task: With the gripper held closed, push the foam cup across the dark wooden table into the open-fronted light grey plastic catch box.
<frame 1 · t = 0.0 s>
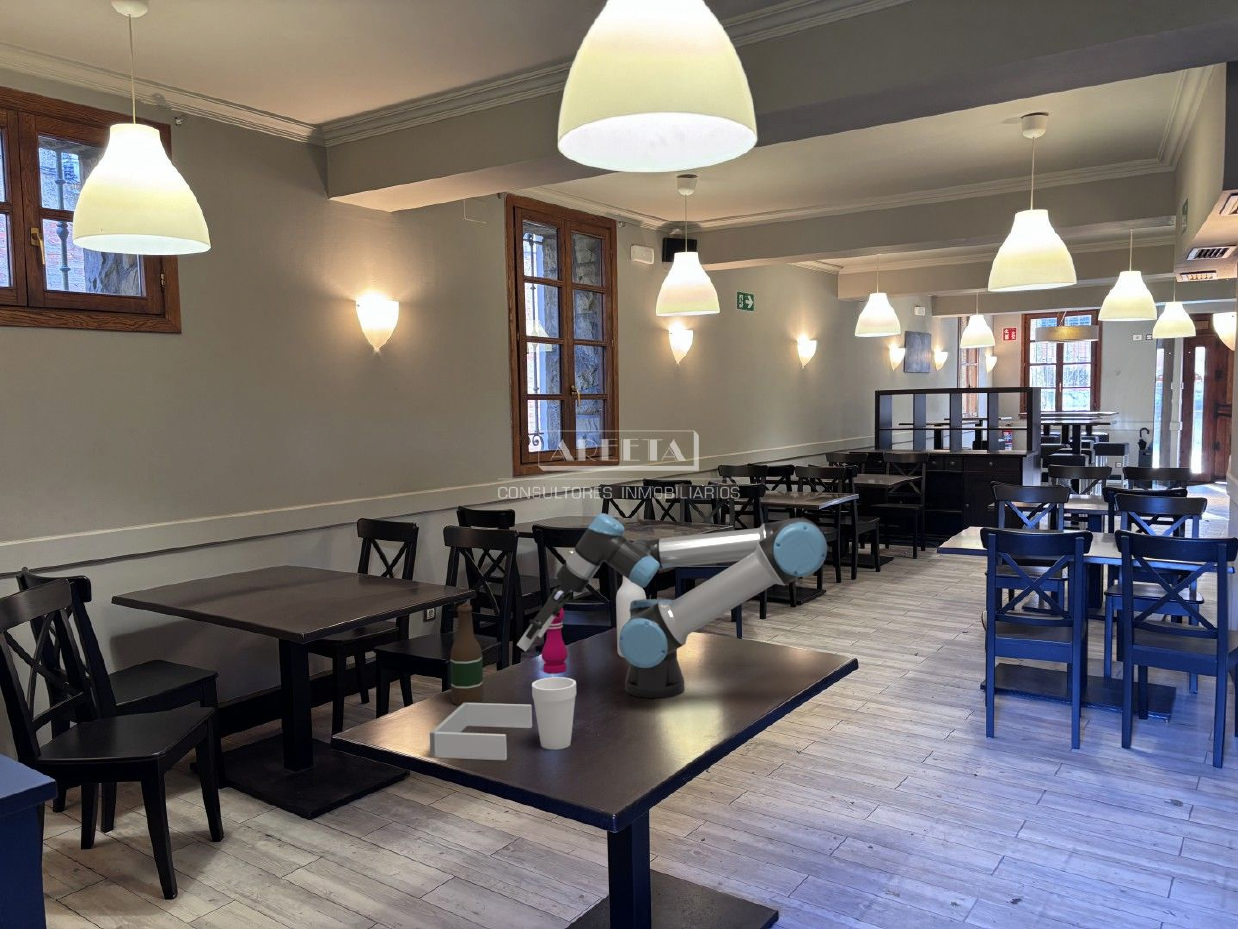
hand: (529, 641, 210), 15 cm above the table, tool tilted 35°, fingers open, 13 cm apart
catch box: (483, 741, 185), on the table
foam cup: (555, 745, 182), on the table
pepper mill: (555, 671, 238), on the table
alcohol: (632, 655, 253), on the table
beer bottle: (467, 702, 212), on the table
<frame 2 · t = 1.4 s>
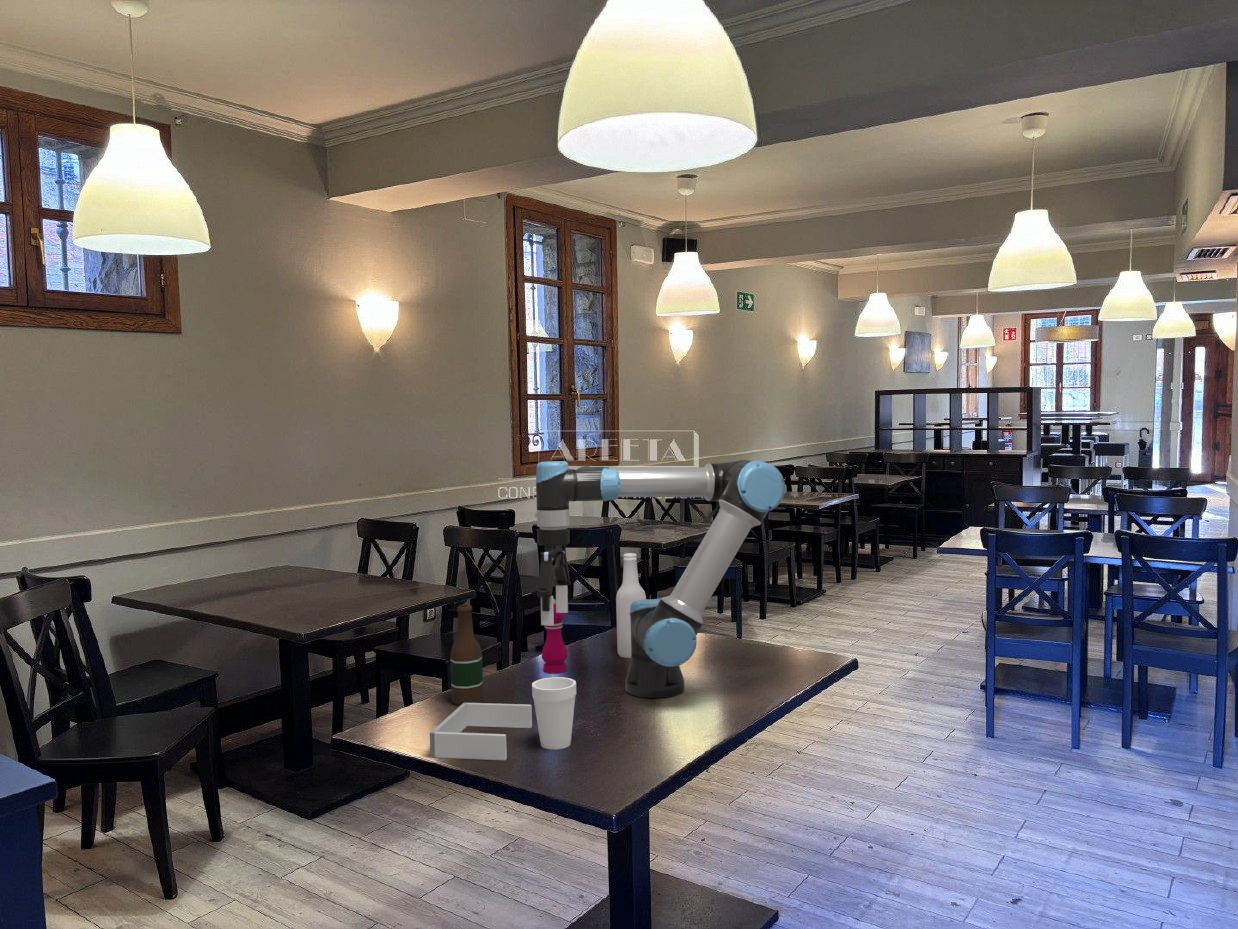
hand: (555, 618, 200), 23 cm above the table, tool pointing down, fingers open, 13 cm apart
nothing on the table moved.
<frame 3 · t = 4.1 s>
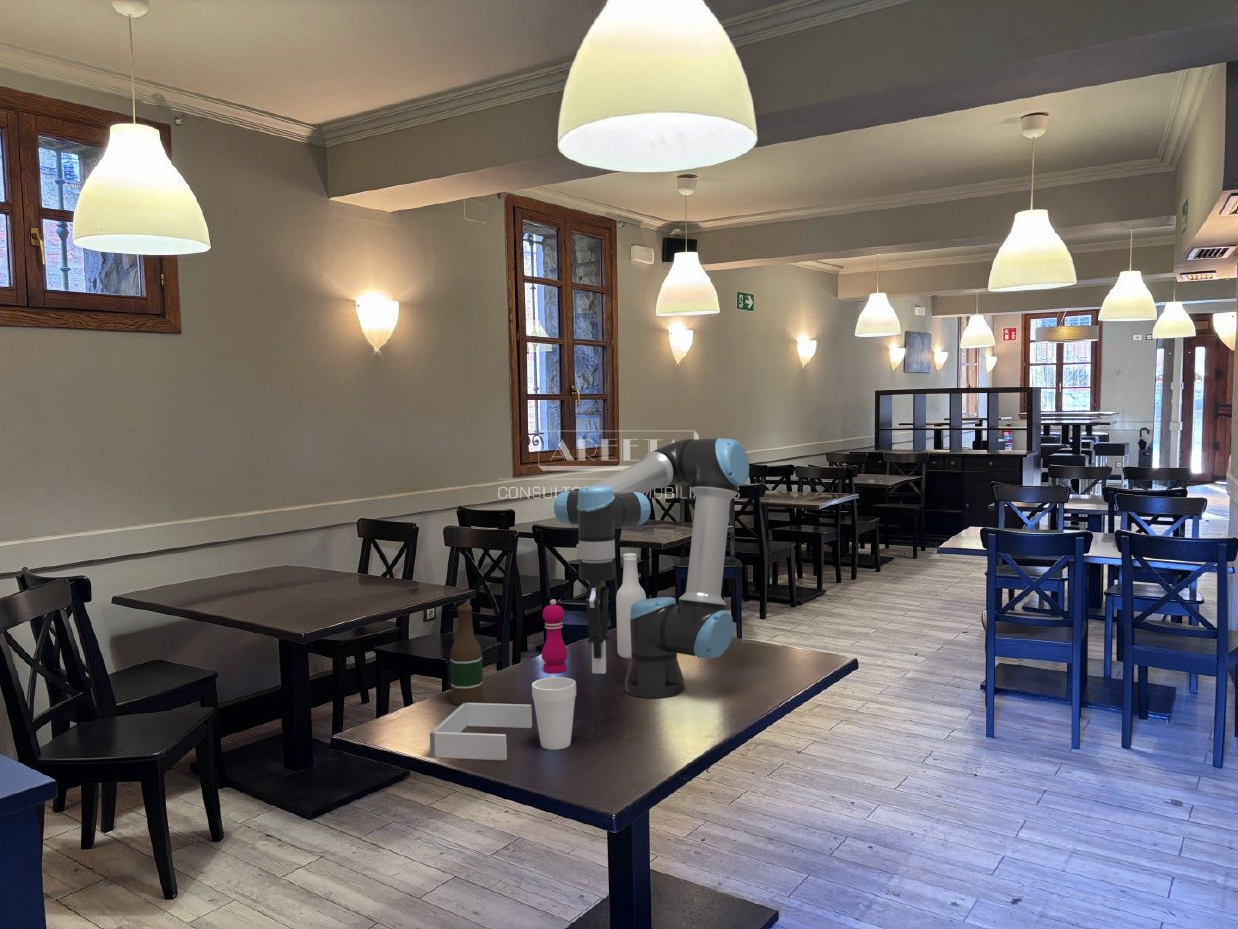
hand: (599, 672, 179), 16 cm above the table, tool pointing down, fingers closed
nothing on the table moved.
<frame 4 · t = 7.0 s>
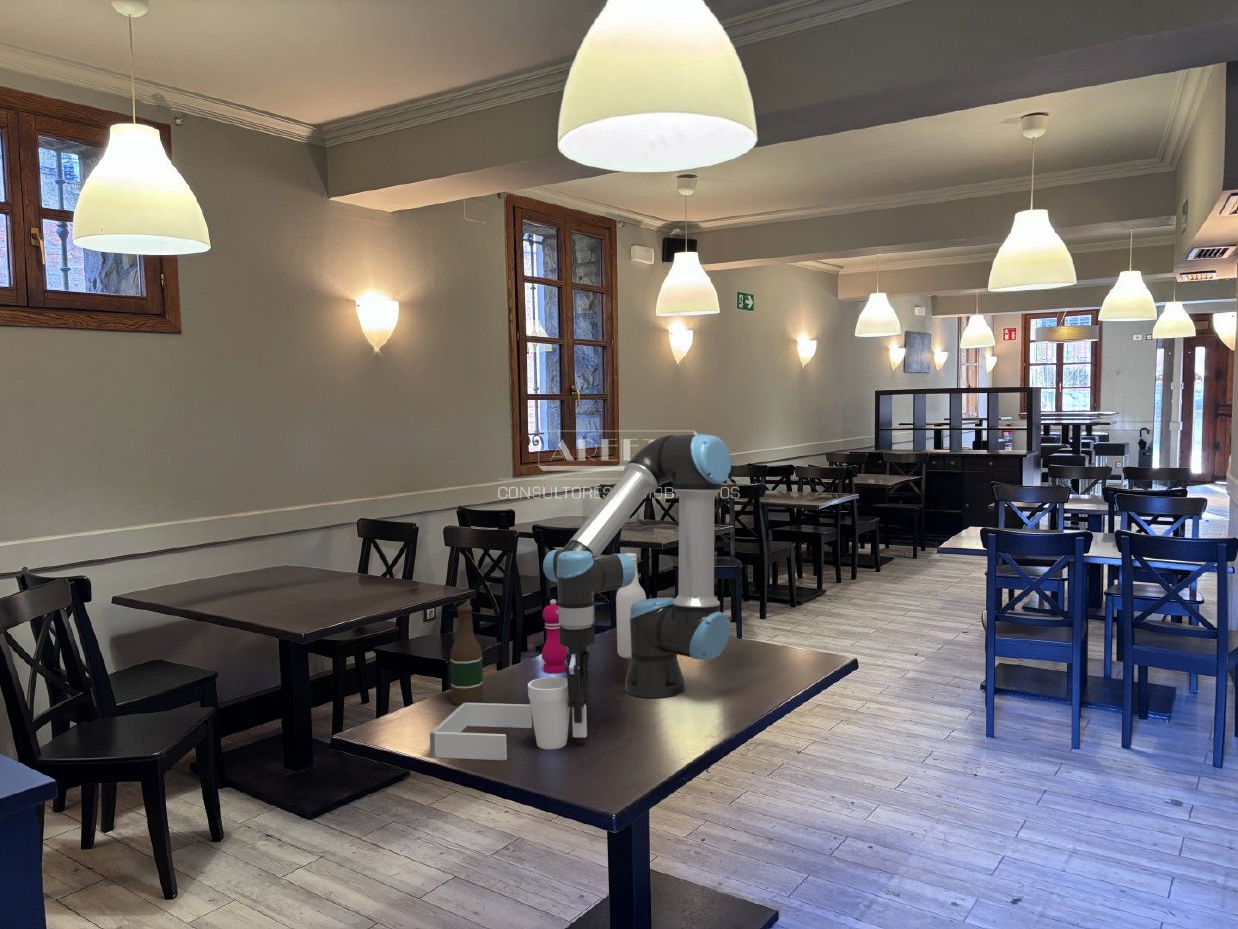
hand: (579, 736, 181), 2 cm above the table, tool pointing down, fingers closed
foam cup: (551, 744, 182), on the table, touching gripper
everything else where it was.
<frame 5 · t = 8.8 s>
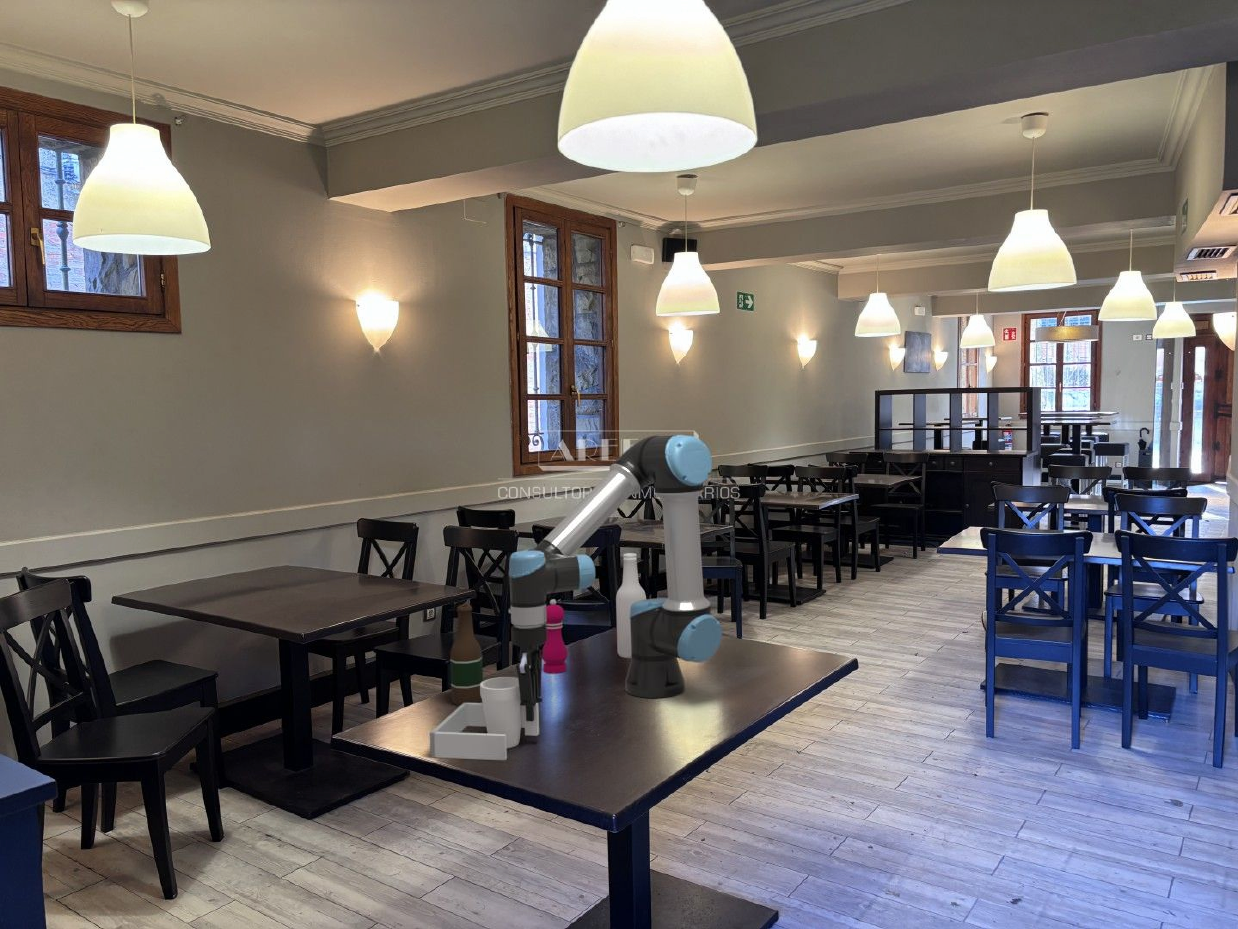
hand: (532, 734, 183), 2 cm above the table, tool pointing down, fingers closed
foam cup: (504, 744, 183), on the table, touching gripper
everything else where it was.
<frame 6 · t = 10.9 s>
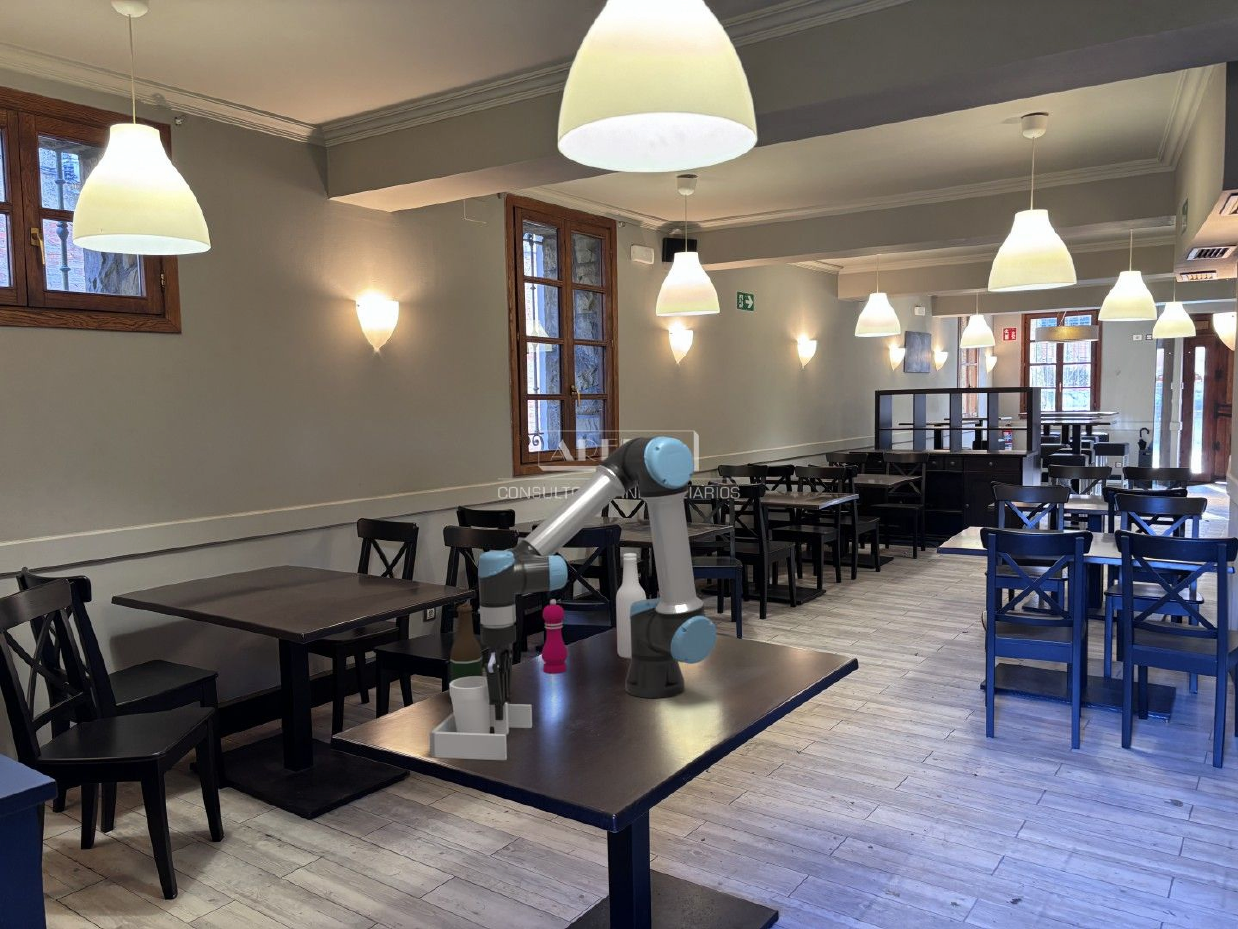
hand: (501, 733, 184), 2 cm above the table, tool pointing down, fingers closed
foam cup: (473, 743, 184), on the table, touching gripper
everything else where it was.
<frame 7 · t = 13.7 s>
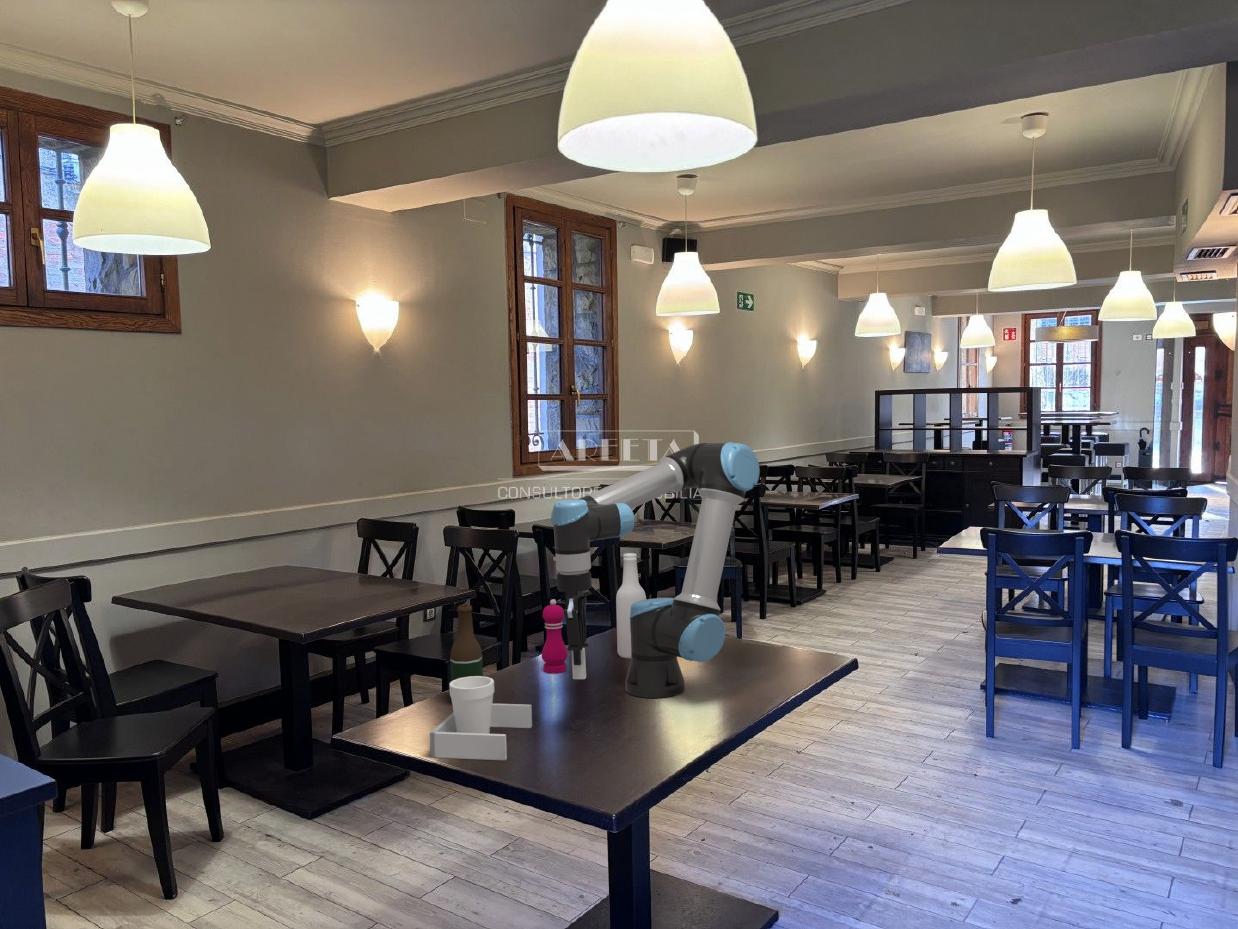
hand: (579, 678, 187), 12 cm above the table, tool pointing down, fingers closed
foam cup: (473, 743, 184), on the table
everything else where it was.
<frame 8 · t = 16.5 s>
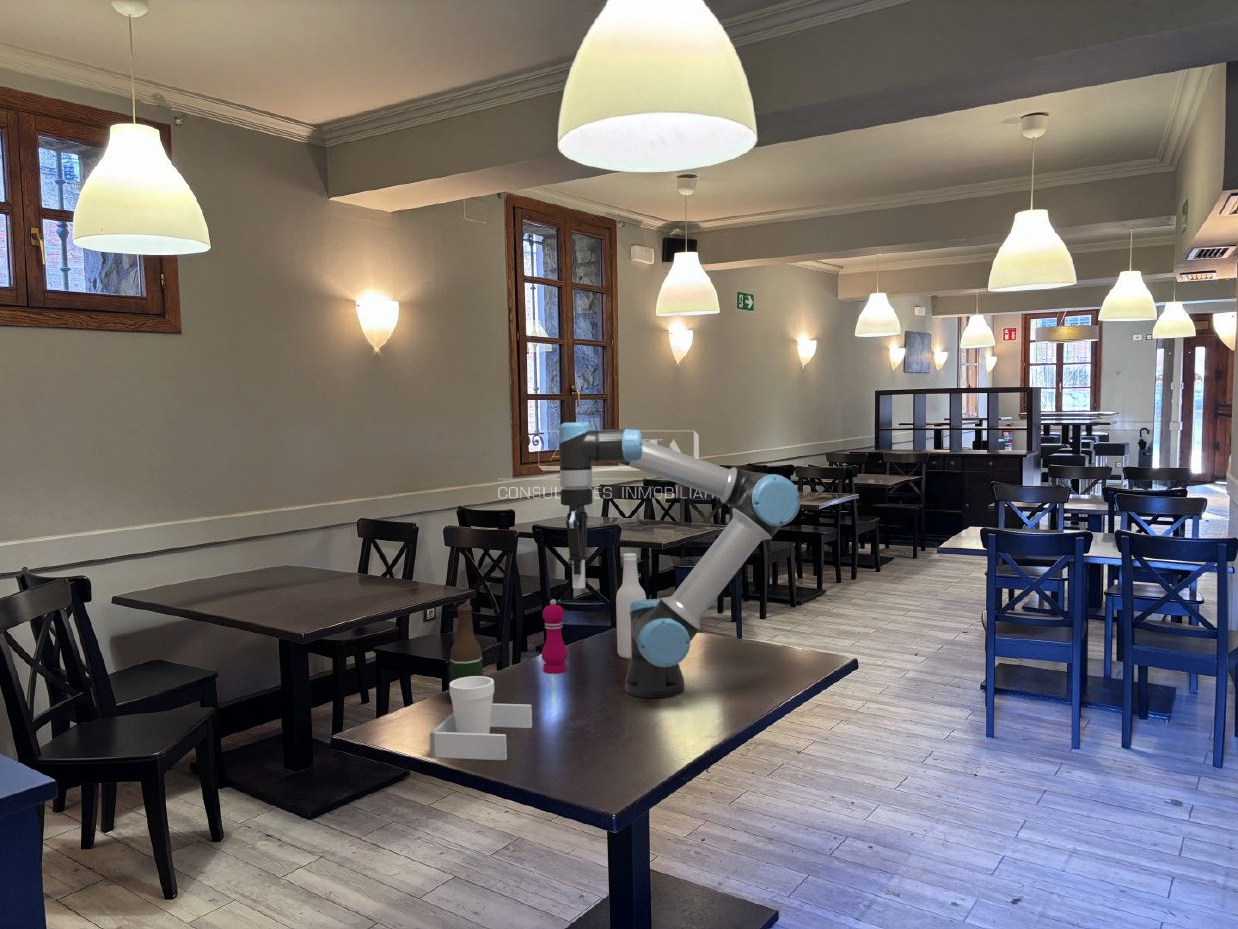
hand: (579, 587, 202), 29 cm above the table, tool pointing down, fingers closed
nothing on the table moved.
at the end: foam cup inside the target area on the catch box (0.9 cm from its centre), point 0.0 cm above the catch box's base; foam cup tilted 0°; the gripper is holding nothing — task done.
